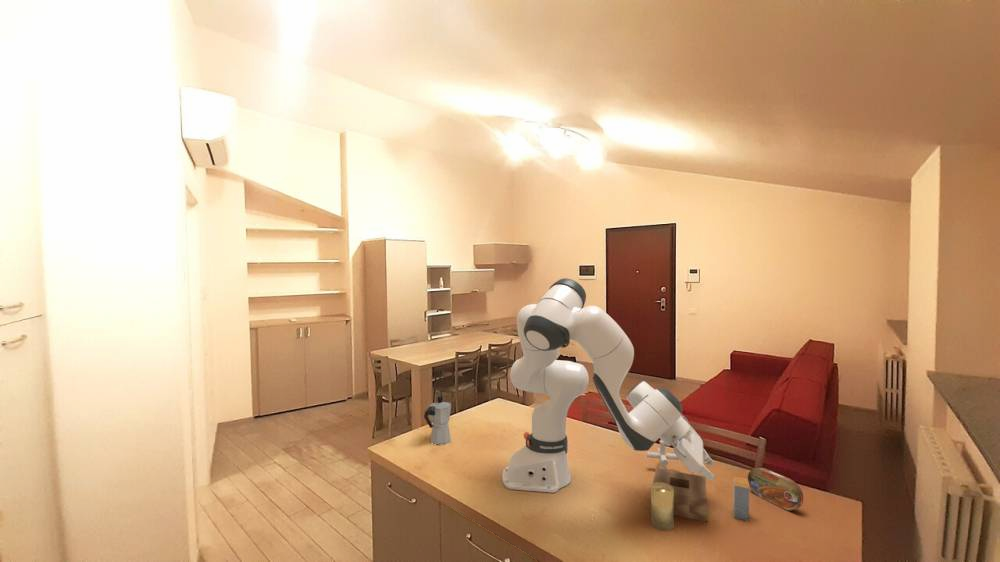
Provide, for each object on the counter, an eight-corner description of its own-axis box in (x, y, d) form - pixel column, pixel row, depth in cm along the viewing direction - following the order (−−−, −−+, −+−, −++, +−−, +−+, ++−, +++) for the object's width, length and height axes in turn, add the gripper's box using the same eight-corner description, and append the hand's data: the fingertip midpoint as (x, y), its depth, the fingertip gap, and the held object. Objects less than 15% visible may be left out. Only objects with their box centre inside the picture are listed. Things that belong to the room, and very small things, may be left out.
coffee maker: (443, 433, 178) (443, 390, 178) (459, 438, 173) (458, 394, 173) (417, 445, 166) (416, 399, 166) (433, 451, 161) (432, 403, 161)
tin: (746, 491, 131) (747, 463, 130) (753, 488, 132) (753, 461, 132) (798, 516, 117) (798, 486, 117) (805, 514, 118) (805, 484, 118)
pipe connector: (681, 479, 138) (681, 448, 138) (649, 476, 140) (649, 446, 140) (675, 465, 148) (675, 436, 148) (645, 462, 150) (645, 434, 150)
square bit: (734, 518, 116) (734, 482, 116) (733, 511, 120) (733, 476, 119) (749, 521, 115) (749, 484, 115) (747, 514, 118) (747, 478, 118)
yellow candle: (655, 530, 111) (655, 493, 111) (648, 518, 117) (648, 482, 116) (677, 530, 111) (677, 492, 111) (668, 517, 117) (668, 482, 117)
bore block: (652, 510, 121) (652, 489, 120) (655, 487, 133) (655, 468, 133) (706, 521, 115) (707, 499, 115) (705, 496, 128) (705, 476, 127)
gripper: (681, 437, 113) (722, 481, 109) (683, 413, 131) (719, 450, 127) (663, 451, 115) (703, 495, 111) (668, 426, 133) (702, 462, 129)
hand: (712, 471), depth 119 cm, fingers open, 8 cm apart
